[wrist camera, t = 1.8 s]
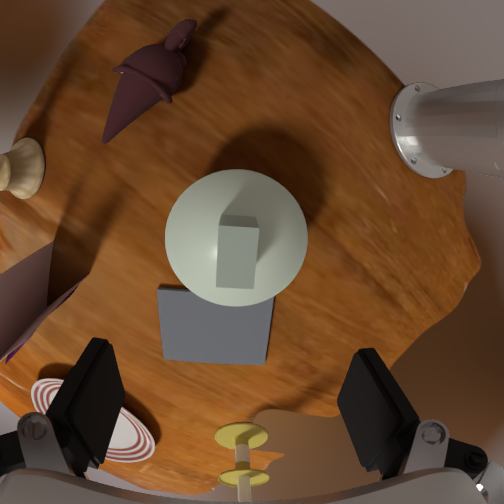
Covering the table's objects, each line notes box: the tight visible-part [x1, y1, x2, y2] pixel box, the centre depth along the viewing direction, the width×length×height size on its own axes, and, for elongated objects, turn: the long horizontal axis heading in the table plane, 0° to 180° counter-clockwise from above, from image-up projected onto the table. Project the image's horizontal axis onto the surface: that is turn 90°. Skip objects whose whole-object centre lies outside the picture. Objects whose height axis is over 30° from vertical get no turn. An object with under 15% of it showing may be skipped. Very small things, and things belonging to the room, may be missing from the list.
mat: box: [157, 287, 274, 365], centre depth 35 cm, size 14×11×1 cm
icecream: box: [102, 19, 197, 144], centre depth 22 cm, size 7×7×15 cm
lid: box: [165, 169, 308, 306], centre depth 24 cm, size 13×13×5 cm
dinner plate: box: [31, 378, 155, 462], centre depth 40 cm, size 27×27×3 cm
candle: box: [215, 422, 269, 502], centre depth 31 cm, size 10×10×27 cm
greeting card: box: [0, 241, 88, 364], centre depth 24 cm, size 11×7×15 cm, turn 120°
